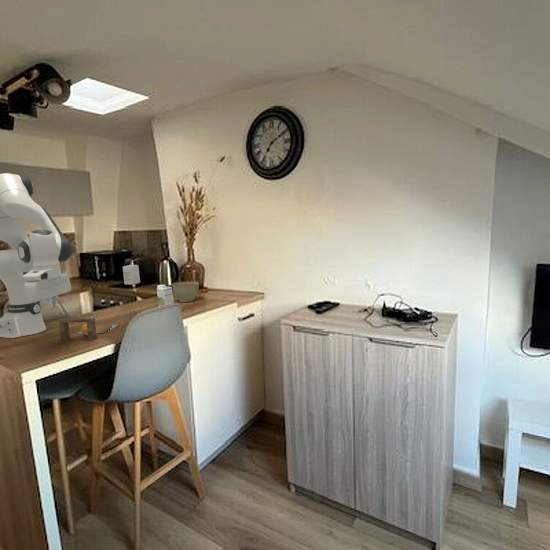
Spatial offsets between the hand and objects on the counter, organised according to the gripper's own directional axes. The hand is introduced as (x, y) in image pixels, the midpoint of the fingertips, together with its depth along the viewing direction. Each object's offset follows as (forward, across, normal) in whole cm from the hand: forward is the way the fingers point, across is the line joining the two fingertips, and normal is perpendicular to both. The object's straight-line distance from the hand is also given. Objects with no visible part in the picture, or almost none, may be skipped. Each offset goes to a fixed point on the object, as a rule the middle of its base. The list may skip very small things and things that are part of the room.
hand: (52, 308), depth 140 cm
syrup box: (+17, -54, +22) cm, 61 cm away
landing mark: (+17, -27, 0) cm, 32 cm away
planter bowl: (+17, -85, +22) cm, 89 cm away
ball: (+14, -19, +1) cm, 23 cm away
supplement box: (+17, -153, -49) cm, 162 cm away
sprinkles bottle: (+17, -66, +15) cm, 70 cm away
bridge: (+17, -13, 0) cm, 21 cm away
